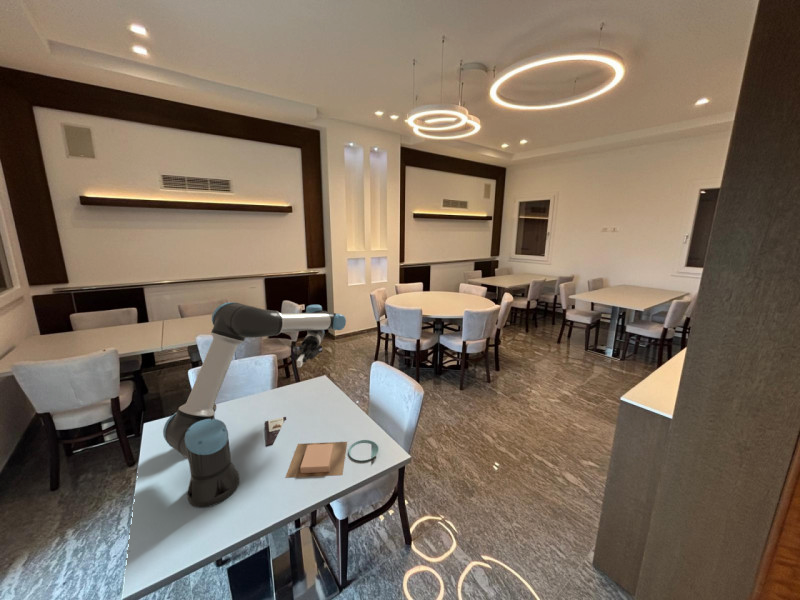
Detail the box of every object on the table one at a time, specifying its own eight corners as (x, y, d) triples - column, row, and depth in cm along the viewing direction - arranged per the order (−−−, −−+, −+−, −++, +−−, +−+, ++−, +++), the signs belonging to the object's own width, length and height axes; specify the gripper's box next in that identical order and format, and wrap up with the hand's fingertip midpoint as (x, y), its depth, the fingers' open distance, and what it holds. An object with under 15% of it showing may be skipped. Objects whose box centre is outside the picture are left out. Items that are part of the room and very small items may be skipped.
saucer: (356, 470, 115) (356, 464, 115) (343, 451, 125) (343, 446, 124) (384, 457, 121) (383, 452, 121) (370, 441, 131) (370, 436, 131)
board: (285, 480, 110) (285, 477, 109) (298, 446, 127) (297, 443, 127) (342, 477, 111) (342, 474, 111) (347, 444, 129) (347, 441, 128)
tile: (308, 450, 123) (300, 473, 111) (307, 444, 123) (300, 467, 111) (333, 449, 124) (329, 472, 112) (333, 443, 123) (328, 466, 112)
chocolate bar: (266, 445, 127) (265, 421, 143) (266, 447, 127) (265, 423, 143) (289, 439, 131) (285, 416, 147) (289, 441, 131) (286, 418, 147)
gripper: (325, 350, 146) (316, 372, 123) (297, 350, 146) (282, 373, 123) (325, 335, 145) (315, 354, 122) (296, 335, 144) (281, 355, 121)
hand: (298, 364), depth 122 cm, fingers closed
